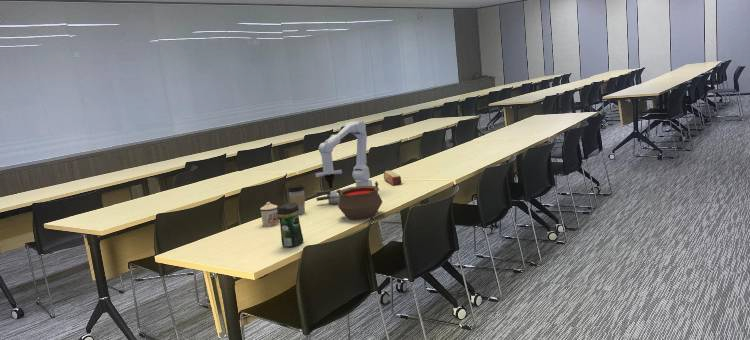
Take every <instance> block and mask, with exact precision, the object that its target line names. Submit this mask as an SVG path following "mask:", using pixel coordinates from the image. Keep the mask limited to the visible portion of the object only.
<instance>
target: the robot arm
mask: <svg viewBox="0 0 750 340" xmlns="http://www.w3.org/2000/svg"><path fill="white" fill-rule="evenodd" d="M366 129H367V125H366V123H364V122H363V120H359V121H348V122H347V123H346V124H345V126H344V127H343V128H342V129H340V131H338V133H336V134H331V135H330V137H329V138H327V139H326V140H324V142H321V143H320V144H319V146H318V148H317V149H318V152H319V154H320V156H321V162H322V172H316V173H315V178H319V177H324V179H325V180H326V182H327V184H328V188H329V189H333V182H334V179H335V175H339V174H340V175H341V174H343V170H342V169H335V170H334V164H333V154H332V152H333V151H334V148H335V147H336V146H338V144H340V143H341V139H343V138H344V137H345V136H348V134H349V133H350V134H353V135H354V136H355V138H357V139H356V162H355V163H356V164H355V166H353V171H352V173H351V176H352V179H353V180H354V181H355V187H357V186H365V185H367V186H373V181H372V180H370V177H371V172H370V167H368V165H367V164H366V163H367V142H368V141H367V138H368V135H367V130H366Z"/></svg>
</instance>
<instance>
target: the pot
mask: <svg viewBox="0 0 750 340" xmlns="http://www.w3.org/2000/svg"><path fill="white" fill-rule="evenodd" d="M339 198H340V197H328V196H327V195H323V196H317V197H316V198H315V199H316V201H317V202H318V201H326V200H327V201H328V205H330V206H331V205H332V206H335V205H337V206H338V202H339Z"/></svg>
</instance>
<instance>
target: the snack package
mask: <svg viewBox="0 0 750 340" xmlns="http://www.w3.org/2000/svg"><path fill="white" fill-rule="evenodd" d="M383 179H384V181H385V182H387V183H389V184H390V185H392V186H400V185H402V177H401V175H399V174H397V172H396V173H395V172H394V171H393V170H385V171H384V172H383Z"/></svg>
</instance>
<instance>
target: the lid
mask: <svg viewBox="0 0 750 340" xmlns="http://www.w3.org/2000/svg"><path fill="white" fill-rule="evenodd" d="M337 191H338V189H337V190H329V189H327V190H322V191H319V190H316V191H315V196H316V197H322V196H328V197H340V195H339V194H338V192H337Z"/></svg>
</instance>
